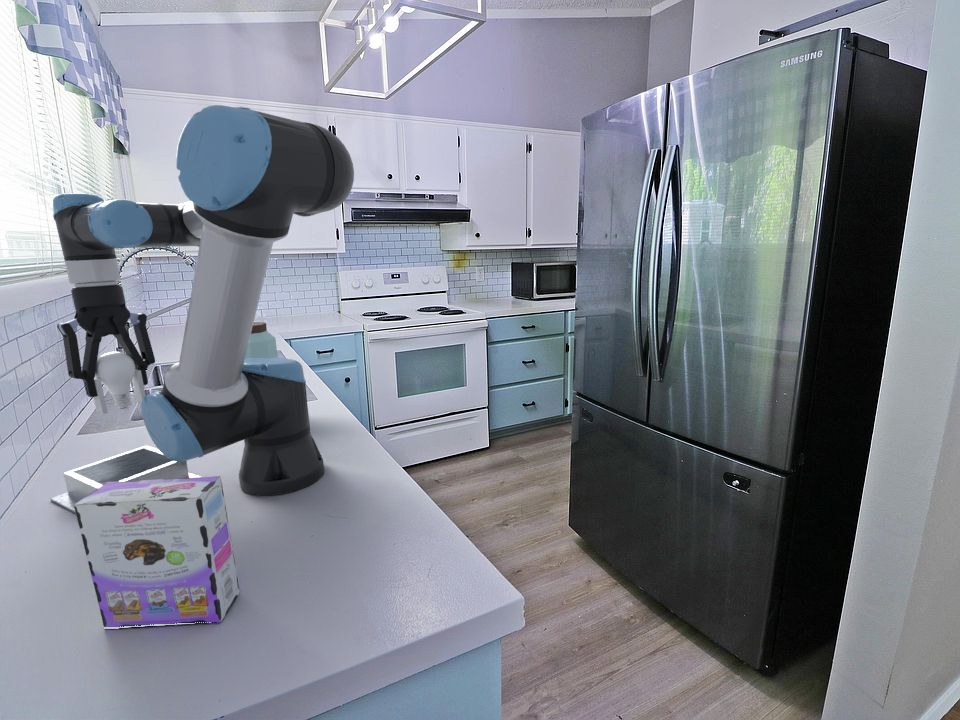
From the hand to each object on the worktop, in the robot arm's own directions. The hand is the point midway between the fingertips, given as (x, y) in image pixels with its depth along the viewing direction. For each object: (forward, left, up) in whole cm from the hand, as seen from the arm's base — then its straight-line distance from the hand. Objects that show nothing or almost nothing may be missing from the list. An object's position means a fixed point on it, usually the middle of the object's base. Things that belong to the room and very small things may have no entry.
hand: (122, 407), depth 97 cm
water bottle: (+4, -32, -14) cm, 36 cm away
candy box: (-46, +18, -14) cm, 51 cm away
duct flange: (-6, +4, -14) cm, 16 cm away
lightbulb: (0, 0, 0) cm, 1 cm away
